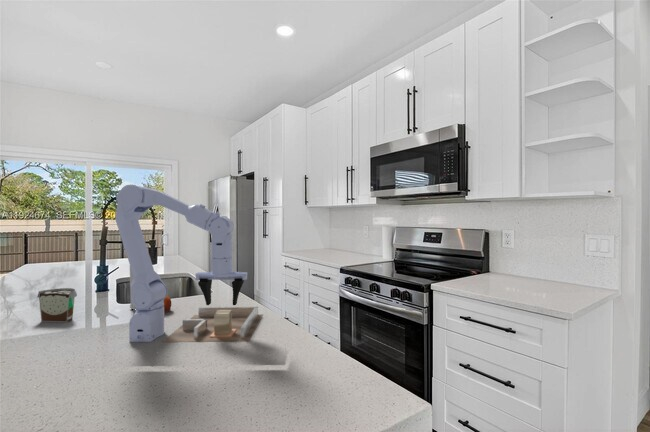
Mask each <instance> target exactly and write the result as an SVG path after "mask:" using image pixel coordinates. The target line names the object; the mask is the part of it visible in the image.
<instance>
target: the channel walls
mask: <svg viewBox="0 0 650 432" xmlns="http://www.w3.org/2000/svg"><path fill="white" fill-rule="evenodd" d="M218 310H232V317H235V316H249V317H248V318H247V320H246V321H245V322H244V324H243V325H242V327H241V339H244V338H245V337H246V335H247V333H248V332H249V330H250V328H251V327H252V325H253V323H254V322H255V320H256V318H257V317H258V315H259V306H199V307H198V314H197V315H198V317H214V314H215V313H216V312H217V311H218ZM182 325H183V330H194V339H198V338H199V337H200V336H201V335H202V334H203V333H204V332H205V331H206V330H207V319H190V318H186V319H185V318H184V319H182Z"/></svg>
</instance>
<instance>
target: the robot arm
mask: <svg viewBox="0 0 650 432" xmlns="http://www.w3.org/2000/svg"><path fill="white" fill-rule="evenodd" d="M115 199H116V202H117V206H116V210H115V211H116V212H115V217H114V218H115V219H114V220H115V222H116V225H117V226H116V227H117V228H118V232H119V235H120V239H121V241H122V245H123V247H124V251H125V254H126V257H127V260H128V263H129V268H130V267H131V270H132V273H133V276H134V279H133V281H132V284H131V290H132V296H130V302H131V301H132V304H133V305H134V306H135V307H136V310H135V313H134V314H133V315H132V316H131V318H130V319H129V322H128V323H129V325H128V326H129V327H128V328H129V333H128V334H129V337H128V338H129V342H133V343H135V342H136V343H138V342H139V343H140V342H141V343H143V342H144V343H145V342H147V343H149V342H152V341H154V340H155V339H157V338H158V337H161V336H163V335H164V334H165V314H164V299H165V297H166V296H168V294H169V293H168V292H169V291H168V290H169V289H168V286H167V285H166V284H165V282H164V281H163V279H162V278H161V275H160V274H159V273H157V271H156V270H155V269H154V266H153V263H152V259H151V255H150V253H149V250H148V247H147V243H146V240H145V237H144V235H143V231H142V228H141V224H140V222H139V221H140V219H141V218H142V216H143V215H144V213H145V212H147V211H148V210H149V209H150V208H152V207H153V206H161V207H163V208H166V209H168V210H171V211H172V212H175V213H178V214H180V215H181V216H184V217H185V220H186V222H187V223H189V224H191V225H194V226H196V227H198V228H200V229H202V230H204V231H207V232H209V234H210V235H211V243H210V245H211V255H210V257H211V260H210V261H211V262H210V263H211V268H210V269H211V270H210V271H201V272H200V271H198V272H196V273H195V281H198V282H197V285H198V286H199V288H200V290H201V292H202V294H203V298H204V300H205V305H206V306H209V305H211V303H212V284H213V283H212V282H213V281H214V280H220V281H221V280H223V281H224V280H226V281H227V280H233V281H231V286H232V306H236V305H237V304H238V300H239V295H240V292H241V289H242V286H243V284H244V283H245V281H247V280H248V271H247V272H243V271H233V242H232V232H233V231H234V228H235V224H234V222H233V220H232V219H230V218H229V217H228V216H226V215H225V216H223V215H221V213H220V212H218V211H217V212H214V211H212V210H210V209H209V208H208V209H207V208H206V205H205V204H201V203H200V204H196V203H195V204H193V205H189V204H187V203H185V202H183V201H181V200H179V199H177V198H176V197H173V196H171V195H169V194H167V193H166V192H163V191H161V190H159V189H154V188H151V187H149V186H141V185H136V184H134V183H133V184H131V183H130V184H126V185H123V187H121V189H120V190H119V191H118V193H117V194H116V196H115ZM220 215H221V216H220Z"/></svg>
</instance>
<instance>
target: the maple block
mask: <svg viewBox="0 0 650 432" xmlns="http://www.w3.org/2000/svg"><path fill="white" fill-rule="evenodd" d="M231 331H232V310H218V311H217V312H216V313H215V314H214V335H229V334H230V332H231Z"/></svg>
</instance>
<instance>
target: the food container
mask: <svg viewBox="0 0 650 432" xmlns="http://www.w3.org/2000/svg"><path fill="white" fill-rule="evenodd" d="M76 297H78V293H77V291H76V289H75V288H71V287H66V288H65V287H63V288H52V289H51V288H50V289H45V290H40V291H38V293H37V296H36V298H38V301H39V309H40V310H39V311H40V319H41V322H44V323H45V322H46V323H49V322H51V323H69V322H71V321H72V320H73V316H74V308H75V307H74V306H75V298H76Z"/></svg>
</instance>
